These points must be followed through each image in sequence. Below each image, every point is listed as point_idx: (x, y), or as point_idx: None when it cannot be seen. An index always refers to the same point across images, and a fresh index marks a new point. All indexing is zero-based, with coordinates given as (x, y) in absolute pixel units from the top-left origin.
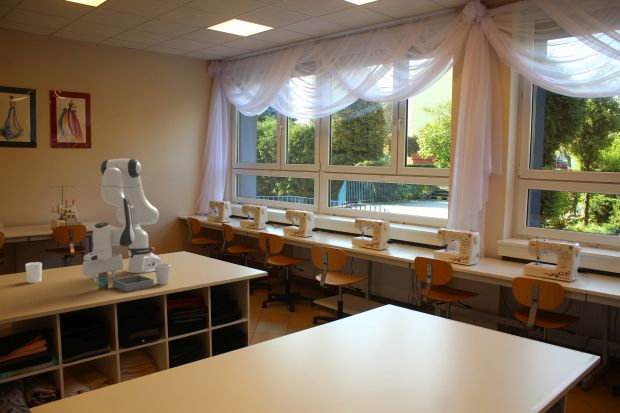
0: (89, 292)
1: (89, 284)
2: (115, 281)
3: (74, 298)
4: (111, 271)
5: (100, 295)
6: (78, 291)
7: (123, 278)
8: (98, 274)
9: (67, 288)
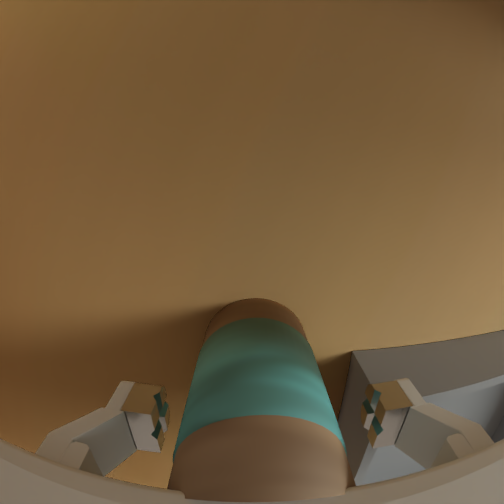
0: (94, 369)
1: (231, 17)
2: (359, 456)
3: (7, 409)
4: (449, 458)
5: (148, 479)
6: (27, 255)
7: (486, 382)
8: (172, 470)
9: (15, 63)
